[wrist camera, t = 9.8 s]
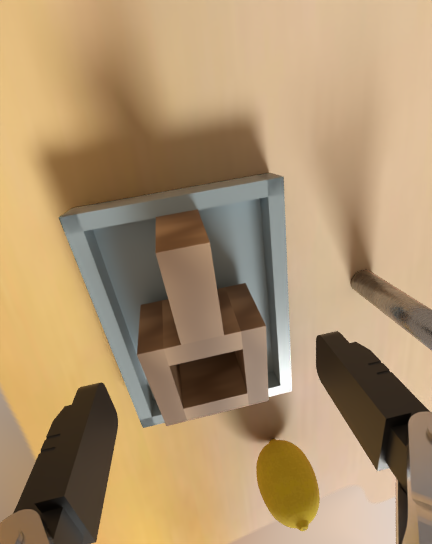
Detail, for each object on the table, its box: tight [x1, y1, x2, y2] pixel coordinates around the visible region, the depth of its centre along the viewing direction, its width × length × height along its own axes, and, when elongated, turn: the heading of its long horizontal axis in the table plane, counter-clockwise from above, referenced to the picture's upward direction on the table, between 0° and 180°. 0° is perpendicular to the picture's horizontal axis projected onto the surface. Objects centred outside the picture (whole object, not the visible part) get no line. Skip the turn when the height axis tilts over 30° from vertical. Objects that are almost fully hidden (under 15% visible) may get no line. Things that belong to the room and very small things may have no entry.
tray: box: [59, 173, 292, 428], centre depth 21 cm, size 13×18×2 cm
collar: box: [137, 209, 269, 426], centre depth 18 cm, size 8×14×4 cm, turn 7°
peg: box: [351, 270, 432, 350], centre depth 20 cm, size 2×2×9 cm
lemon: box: [256, 439, 320, 531], centre depth 27 cm, size 6×6×8 cm
